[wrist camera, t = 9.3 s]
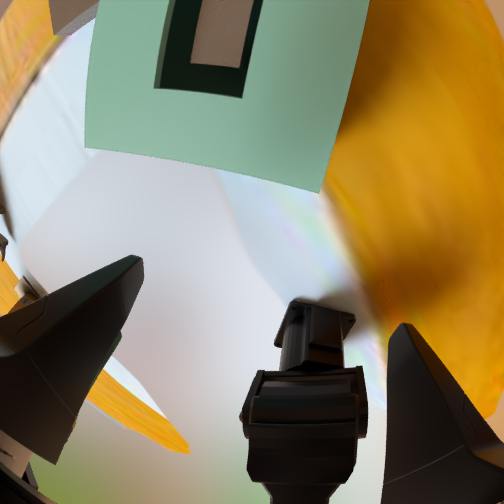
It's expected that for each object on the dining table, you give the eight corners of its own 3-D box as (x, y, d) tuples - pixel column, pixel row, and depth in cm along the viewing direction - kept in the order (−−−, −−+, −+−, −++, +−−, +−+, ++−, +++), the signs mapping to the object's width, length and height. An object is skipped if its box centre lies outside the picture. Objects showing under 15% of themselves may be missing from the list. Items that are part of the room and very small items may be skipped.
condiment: (44, 324, 39) (9, 373, 29) (14, 288, 36) (-26, 334, 26) (58, 316, 36) (18, 372, 26) (23, 275, 33) (-23, 328, 23)
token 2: (255, 72, 15) (239, 67, 11) (218, 67, 15) (190, 62, 11) (270, 3, 12) (258, -23, 8) (232, -1, 12) (208, -25, 8)
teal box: (313, 153, 18) (319, 193, 12) (148, 121, 18) (84, 147, 12) (357, -28, 10) (382, -75, 4) (181, -46, 11) (128, -84, 4)
